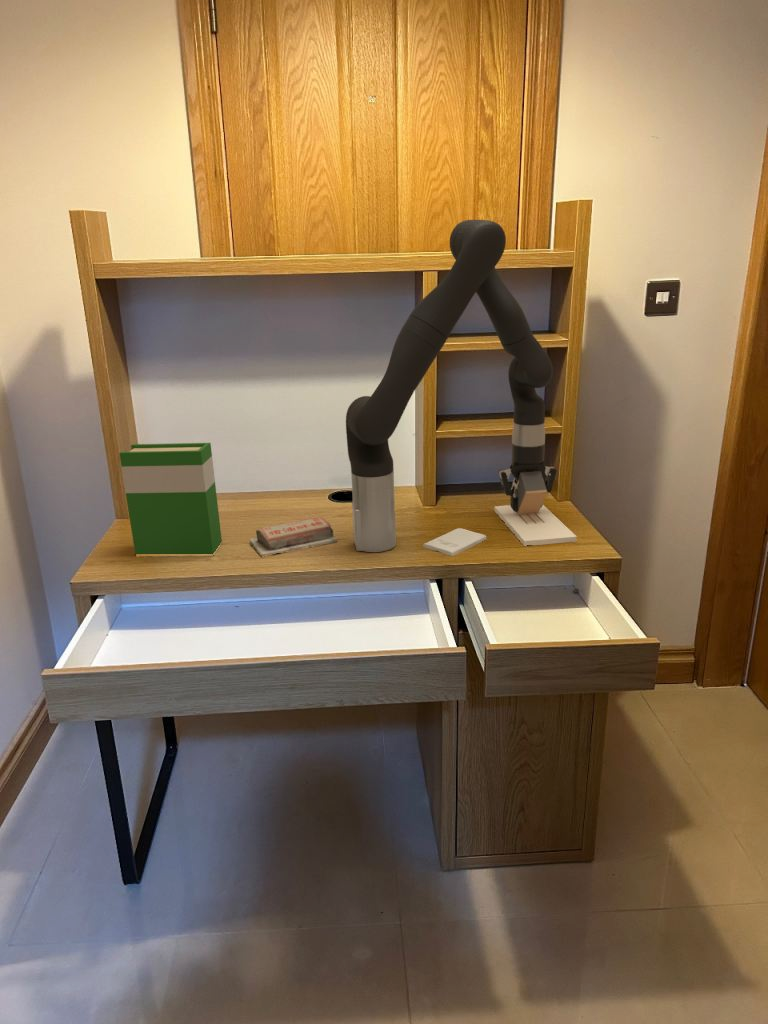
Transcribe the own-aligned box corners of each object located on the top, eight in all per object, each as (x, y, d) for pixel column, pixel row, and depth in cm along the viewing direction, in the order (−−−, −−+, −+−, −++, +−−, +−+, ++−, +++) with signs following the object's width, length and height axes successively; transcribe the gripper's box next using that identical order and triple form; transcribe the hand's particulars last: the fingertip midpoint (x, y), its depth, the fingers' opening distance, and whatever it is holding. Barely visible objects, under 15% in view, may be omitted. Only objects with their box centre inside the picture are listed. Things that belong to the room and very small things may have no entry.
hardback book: (135, 557, 168) (119, 452, 160) (147, 544, 175) (132, 444, 167) (213, 556, 166) (200, 451, 159) (222, 543, 173) (210, 442, 166)
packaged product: (321, 512, 179) (336, 524, 170) (322, 530, 180) (337, 544, 172) (247, 525, 172) (259, 539, 163) (249, 545, 173) (261, 559, 165)
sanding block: (547, 491, 173) (540, 470, 176) (526, 493, 172) (520, 472, 175) (538, 513, 180) (532, 492, 184) (518, 514, 180) (512, 494, 183)
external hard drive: (486, 542, 170) (452, 558, 162) (457, 533, 176) (423, 549, 167) (486, 535, 170) (452, 551, 161) (458, 527, 175) (423, 542, 167)
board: (524, 546, 165) (524, 540, 165) (494, 510, 188) (494, 506, 187) (576, 541, 167) (576, 536, 166) (540, 507, 189) (540, 502, 189)
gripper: (503, 447, 171) (501, 517, 177) (563, 443, 173) (560, 512, 179) (494, 439, 178) (493, 507, 184) (552, 435, 180) (549, 503, 186)
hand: (526, 509), depth 181 cm, fingers closed on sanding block, 5 cm apart
